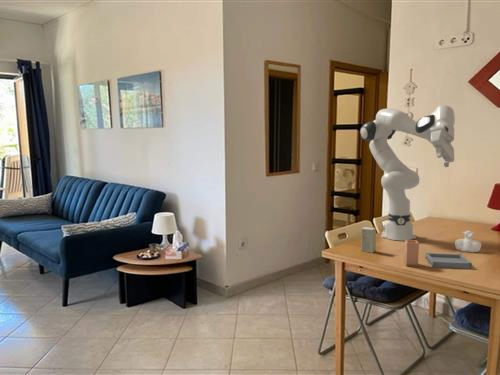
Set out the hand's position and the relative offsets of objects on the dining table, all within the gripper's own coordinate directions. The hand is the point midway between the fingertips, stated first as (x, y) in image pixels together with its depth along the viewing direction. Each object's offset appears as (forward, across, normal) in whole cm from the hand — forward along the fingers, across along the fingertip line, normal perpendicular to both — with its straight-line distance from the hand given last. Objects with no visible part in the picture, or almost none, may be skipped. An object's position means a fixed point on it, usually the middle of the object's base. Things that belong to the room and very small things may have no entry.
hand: (442, 161), depth 184 cm
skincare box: (+38, -16, -41) cm, 58 cm away
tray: (+41, -24, -5) cm, 47 cm away
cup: (+46, -11, -16) cm, 50 cm away
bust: (+27, -48, -3) cm, 55 cm away
